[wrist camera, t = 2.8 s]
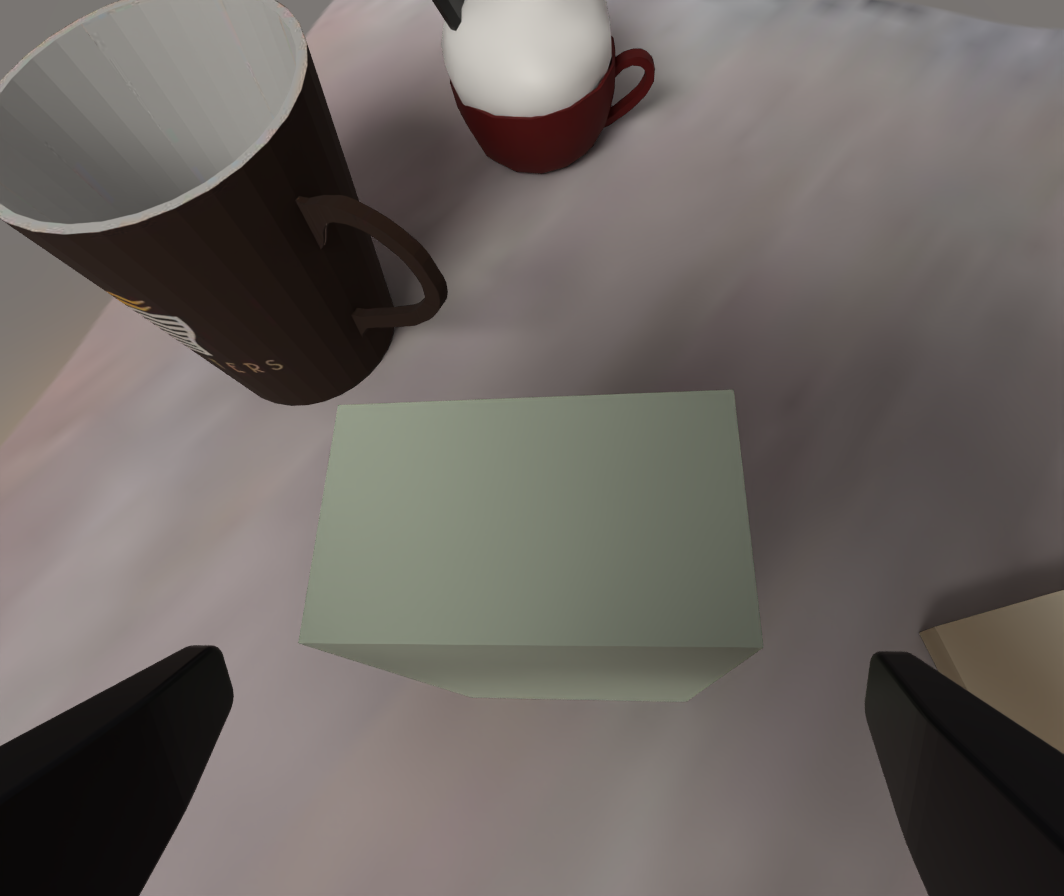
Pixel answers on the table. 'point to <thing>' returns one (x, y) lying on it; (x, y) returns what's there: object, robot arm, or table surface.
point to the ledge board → (1010, 661)
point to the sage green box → (538, 545)
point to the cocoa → (536, 77)
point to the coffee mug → (207, 190)
